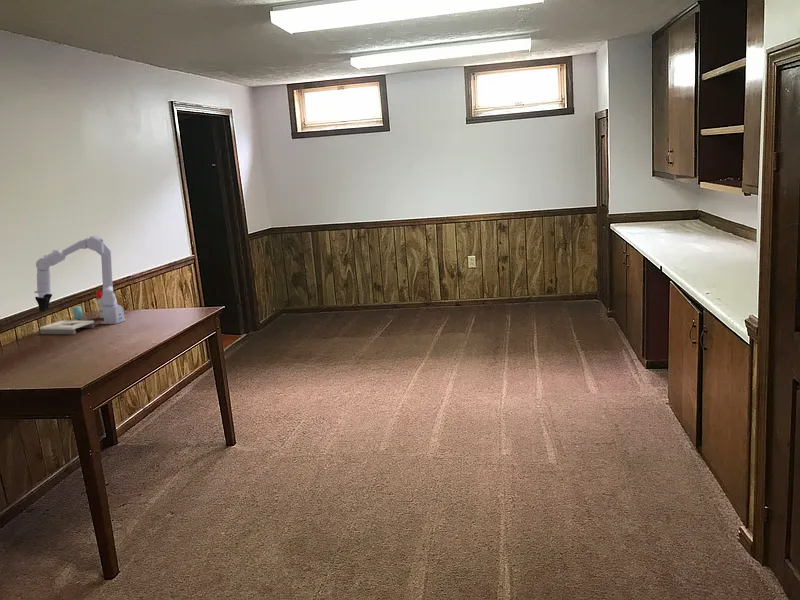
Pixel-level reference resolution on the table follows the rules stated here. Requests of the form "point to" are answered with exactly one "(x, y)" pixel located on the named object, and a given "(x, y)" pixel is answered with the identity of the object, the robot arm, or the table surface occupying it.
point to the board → (65, 327)
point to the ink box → (101, 302)
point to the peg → (77, 313)
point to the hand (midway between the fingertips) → (44, 309)
